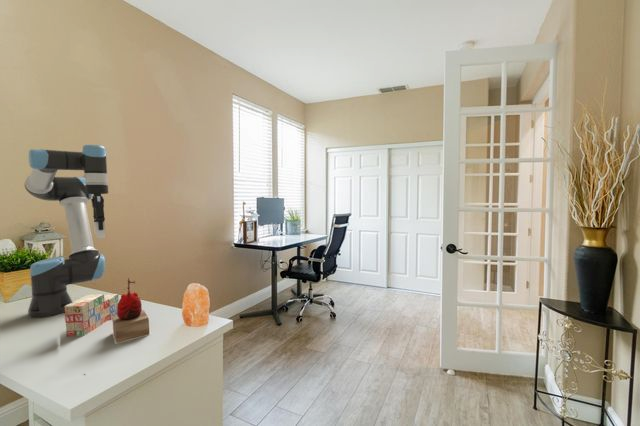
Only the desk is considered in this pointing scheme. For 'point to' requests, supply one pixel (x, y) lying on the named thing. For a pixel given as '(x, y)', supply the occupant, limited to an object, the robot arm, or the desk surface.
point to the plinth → (130, 327)
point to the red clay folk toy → (129, 305)
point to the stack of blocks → (90, 313)
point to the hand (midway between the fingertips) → (100, 236)
